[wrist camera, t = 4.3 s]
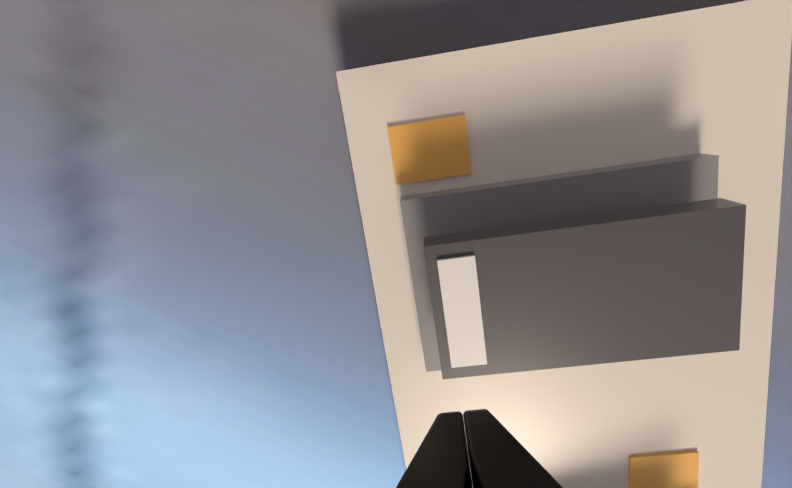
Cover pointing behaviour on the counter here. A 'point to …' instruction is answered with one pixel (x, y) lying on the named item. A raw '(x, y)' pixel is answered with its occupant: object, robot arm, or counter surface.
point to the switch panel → (573, 197)
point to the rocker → (589, 289)
